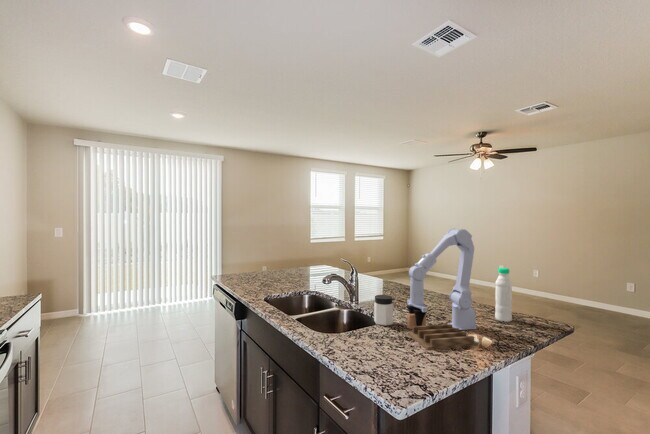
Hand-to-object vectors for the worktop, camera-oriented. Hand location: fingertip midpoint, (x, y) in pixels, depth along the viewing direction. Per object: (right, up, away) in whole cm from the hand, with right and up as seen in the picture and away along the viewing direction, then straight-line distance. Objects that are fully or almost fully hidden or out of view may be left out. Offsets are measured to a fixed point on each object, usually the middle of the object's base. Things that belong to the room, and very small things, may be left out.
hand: (416, 323), depth 140 cm
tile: (0, -2, 0) cm, 2 cm away
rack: (+6, -2, -14) cm, 15 cm away
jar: (-14, -2, +6) cm, 15 cm away
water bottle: (+46, -2, +12) cm, 47 cm away
